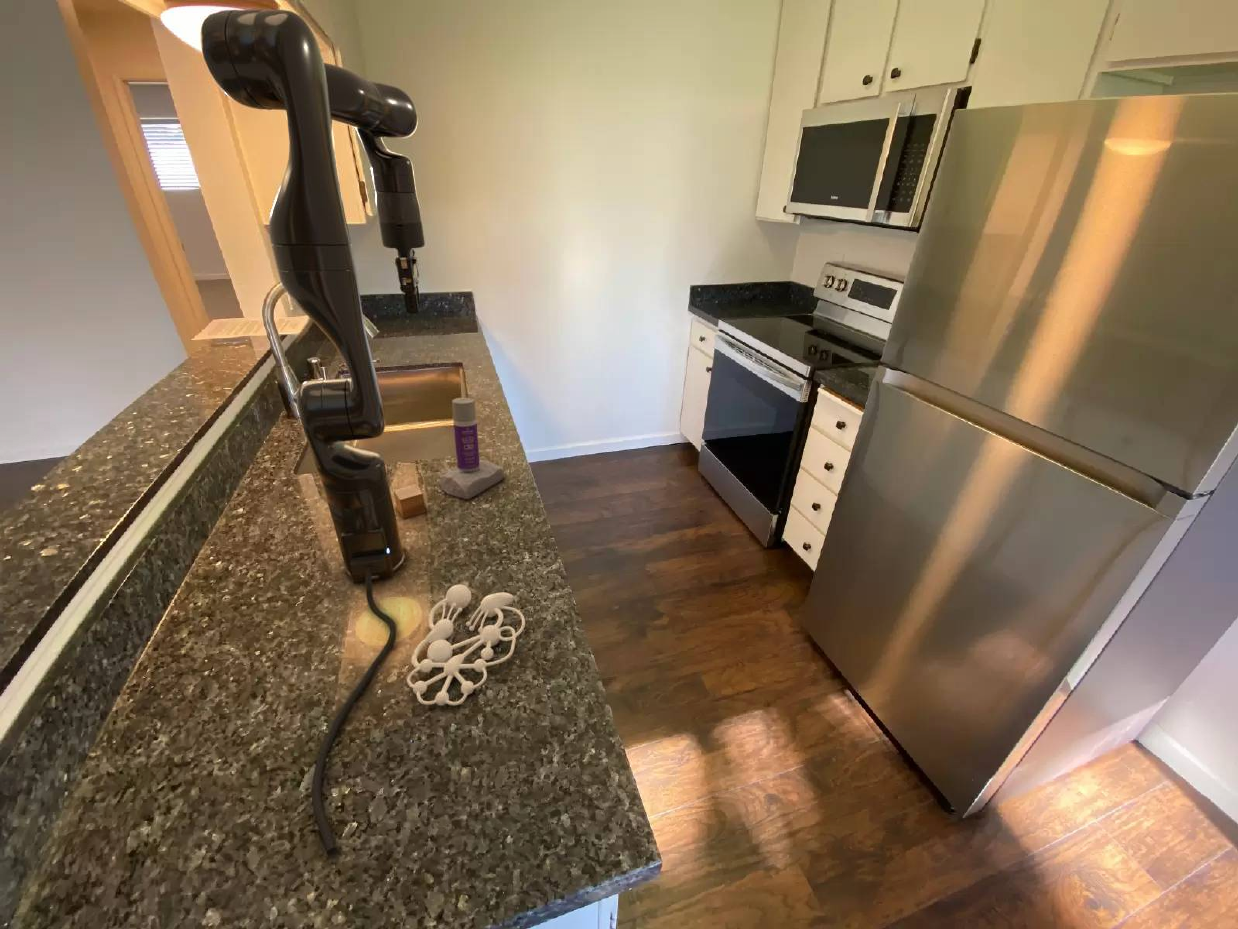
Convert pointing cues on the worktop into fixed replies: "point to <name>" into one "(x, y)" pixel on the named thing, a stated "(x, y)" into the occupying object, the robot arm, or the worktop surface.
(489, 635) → the tangled rod sculpture
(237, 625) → the worktop surface
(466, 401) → the container
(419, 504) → the oak cube
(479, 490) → the stone block
